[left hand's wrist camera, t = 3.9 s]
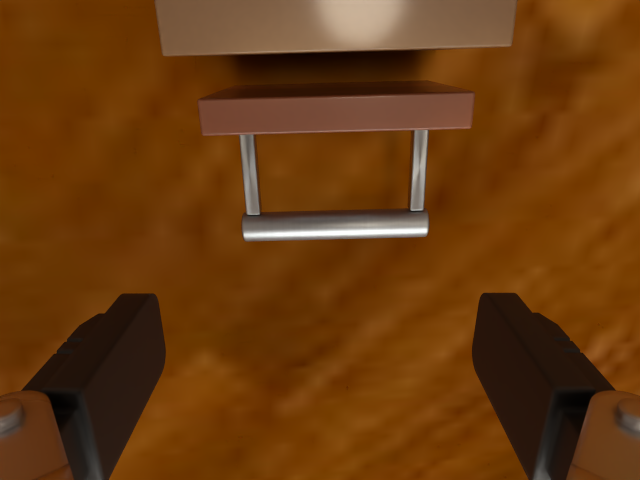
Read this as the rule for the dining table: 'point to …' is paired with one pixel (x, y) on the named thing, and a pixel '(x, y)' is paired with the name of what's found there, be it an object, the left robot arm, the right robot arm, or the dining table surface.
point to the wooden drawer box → (330, 26)
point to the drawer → (335, 116)
